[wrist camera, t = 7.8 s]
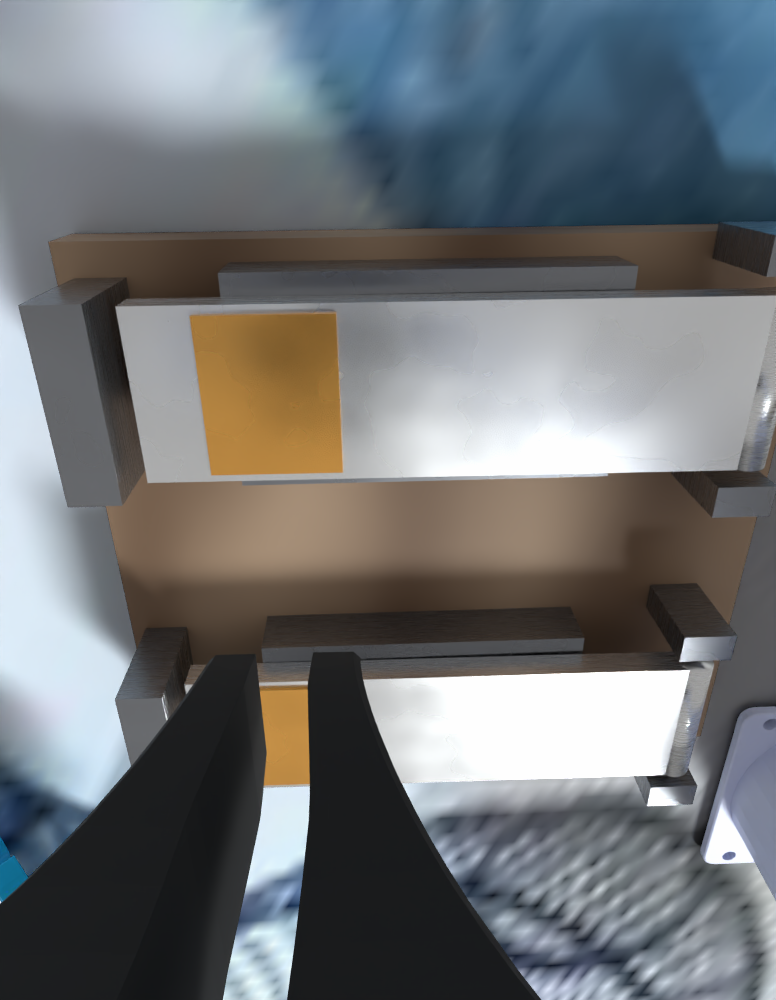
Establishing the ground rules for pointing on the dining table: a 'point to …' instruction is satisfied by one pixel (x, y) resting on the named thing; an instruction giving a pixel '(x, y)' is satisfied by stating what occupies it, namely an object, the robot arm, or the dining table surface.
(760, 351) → the strap
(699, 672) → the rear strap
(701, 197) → the dining table surface
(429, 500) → the board
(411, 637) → the hardware
